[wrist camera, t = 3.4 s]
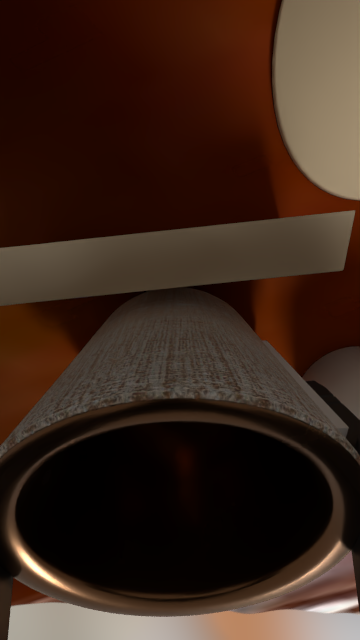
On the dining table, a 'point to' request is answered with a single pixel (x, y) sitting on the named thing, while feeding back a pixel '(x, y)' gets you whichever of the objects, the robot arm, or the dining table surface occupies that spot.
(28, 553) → the planter
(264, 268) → the cradle
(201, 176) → the dining table surface
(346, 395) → the white cylinder
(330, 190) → the mat
